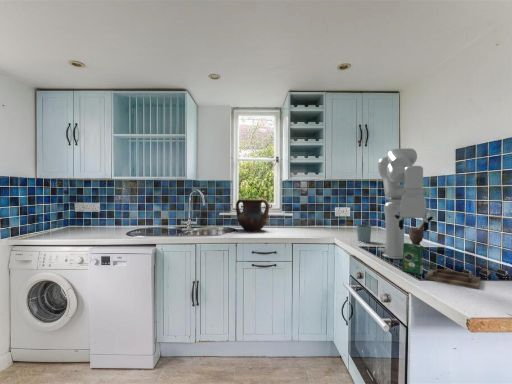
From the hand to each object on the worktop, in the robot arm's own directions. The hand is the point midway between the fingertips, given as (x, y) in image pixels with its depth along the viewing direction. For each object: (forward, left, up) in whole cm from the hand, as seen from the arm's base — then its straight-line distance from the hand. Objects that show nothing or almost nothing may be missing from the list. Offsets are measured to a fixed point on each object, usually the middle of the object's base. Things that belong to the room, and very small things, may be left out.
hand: (413, 230), depth 128 cm
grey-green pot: (-45, +63, -20) cm, 80 cm away
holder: (+15, 0, -20) cm, 25 cm away
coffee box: (0, 0, -20) cm, 20 cm away
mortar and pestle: (-10, +65, -20) cm, 69 cm away
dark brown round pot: (-143, +49, -20) cm, 153 cm away
